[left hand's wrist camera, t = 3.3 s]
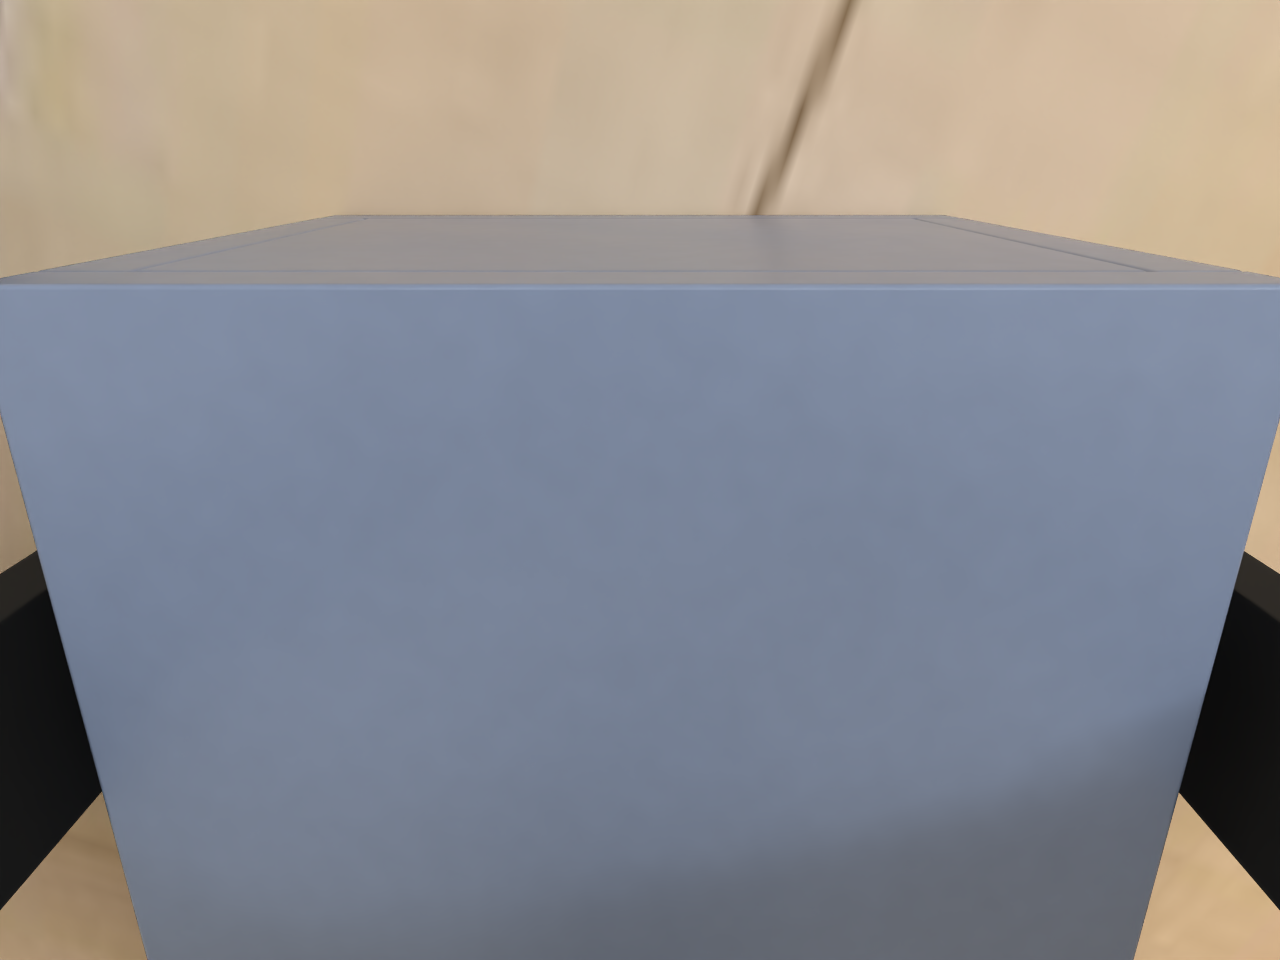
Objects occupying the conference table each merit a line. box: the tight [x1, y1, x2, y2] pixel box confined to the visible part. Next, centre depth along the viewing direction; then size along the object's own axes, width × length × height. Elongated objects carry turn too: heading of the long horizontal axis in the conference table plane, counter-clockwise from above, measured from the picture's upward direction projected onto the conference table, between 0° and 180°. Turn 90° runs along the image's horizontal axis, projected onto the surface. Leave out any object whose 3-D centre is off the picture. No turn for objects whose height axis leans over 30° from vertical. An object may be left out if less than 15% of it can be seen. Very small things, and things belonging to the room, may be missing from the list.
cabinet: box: [0, 215, 1280, 960], centre depth 14 cm, size 17×11×9 cm, turn 0°
